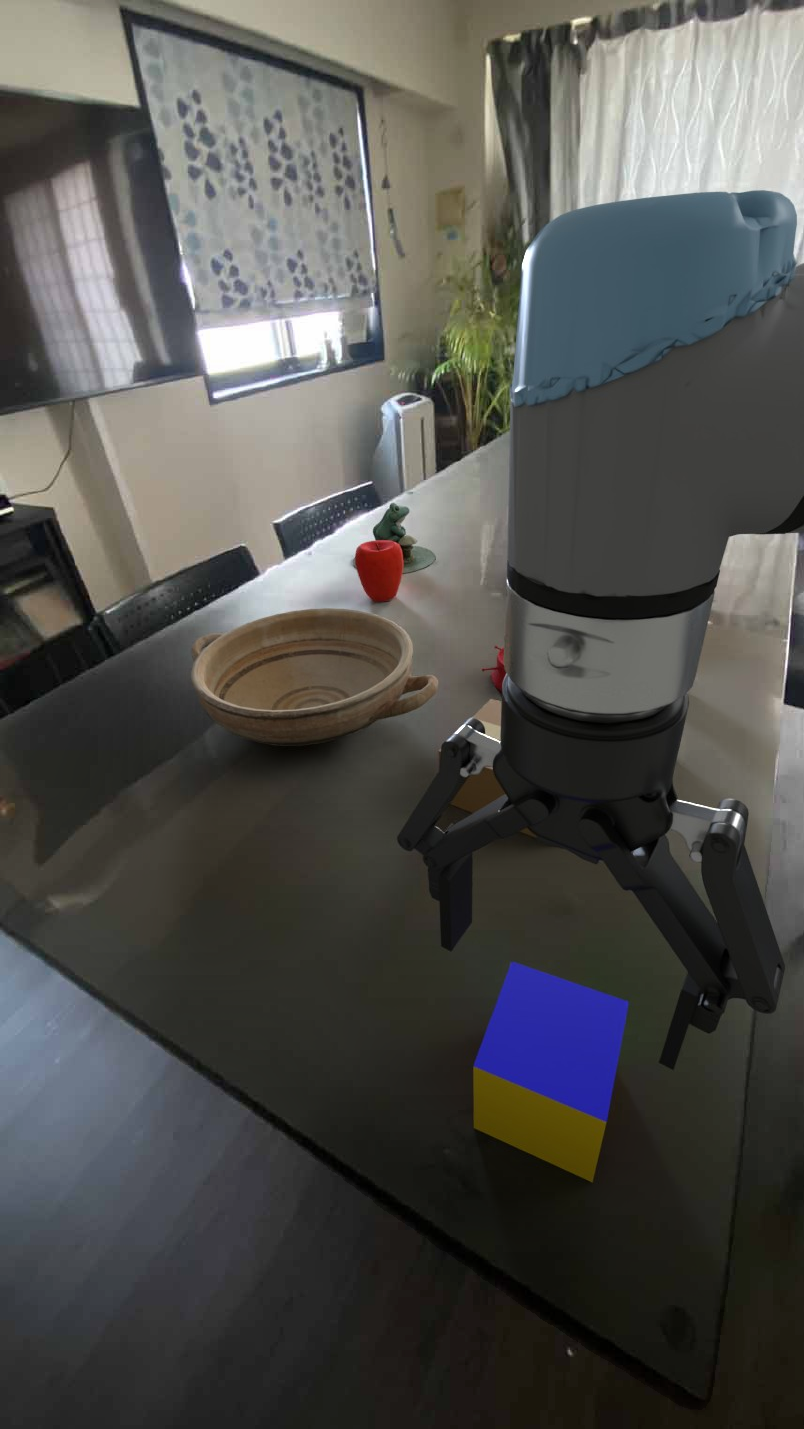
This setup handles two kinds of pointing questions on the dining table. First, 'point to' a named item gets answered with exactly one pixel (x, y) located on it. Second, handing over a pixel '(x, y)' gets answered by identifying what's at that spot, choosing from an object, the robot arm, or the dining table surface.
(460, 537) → the dining table surface
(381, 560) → the apple
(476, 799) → the cardboard box
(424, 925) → the dining table surface
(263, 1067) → the dining table surface
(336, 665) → the ceramic bowl
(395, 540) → the frog figurine
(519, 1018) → the cube
